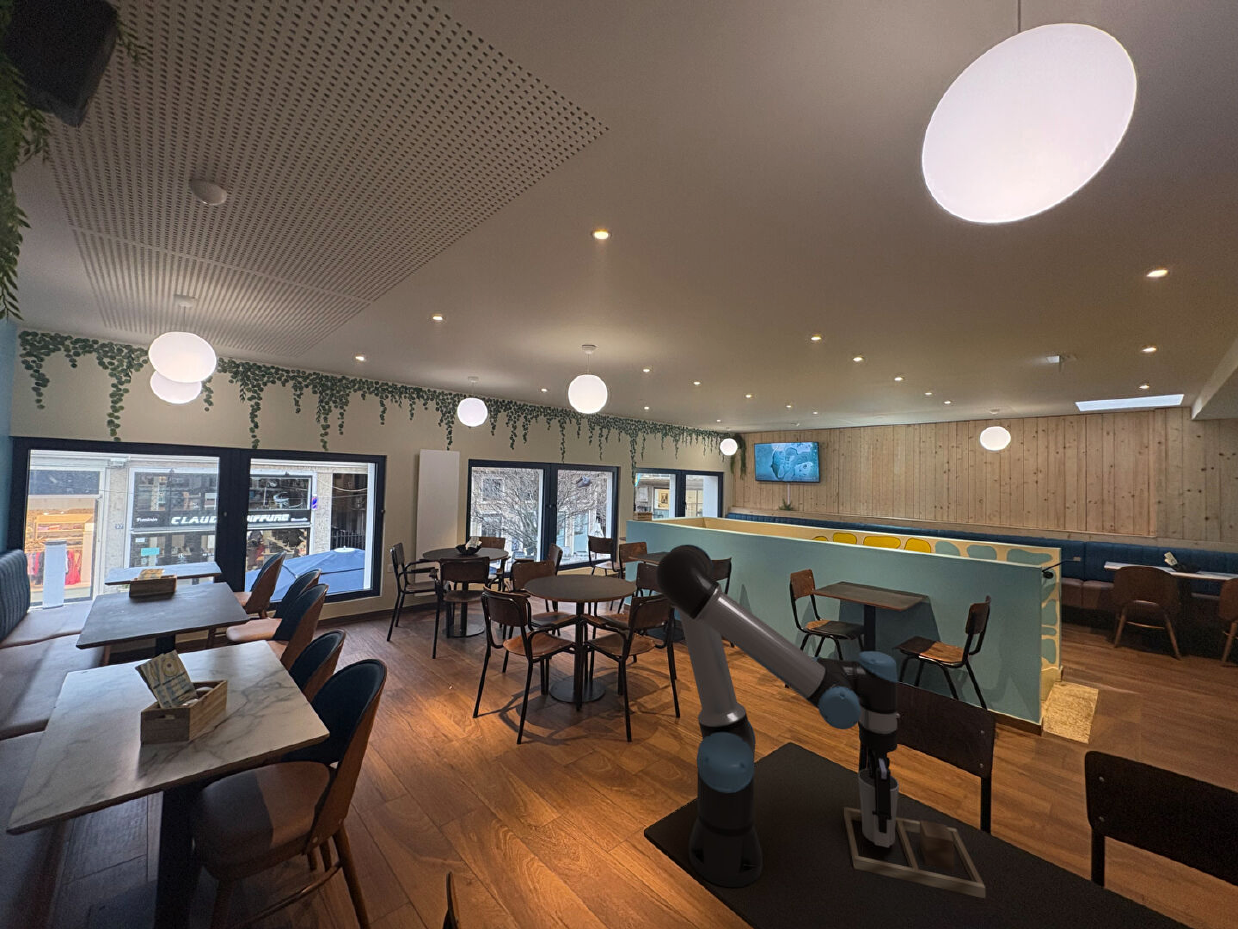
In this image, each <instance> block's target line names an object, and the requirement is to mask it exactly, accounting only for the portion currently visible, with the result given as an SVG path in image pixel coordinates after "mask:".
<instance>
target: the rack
mask: <svg viewBox="0 0 1238 929" xmlns="http://www.w3.org/2000/svg"><path fill="white" fill-rule="evenodd" d="M843 817H844V824H845V827H846V833H847V838H848V844H849V850H850V854H851V855H850V856H851V860H852V864H853V869H854V870H855V869H856V870H859V871H864V872H867V873H868V872H869V873H873V874H877V875H881V876H886V877H890V878H893V879H894V878H895V879H898V880H904V881H907V882H912V883H917V884H920V885H925V886H929V887H933V888H938V889H943V890H947V891H951V892H955V893H959V894H964V895H968V896H973V897H977V898H980V899H986V886H985V884H984V881H983V880H982V878H981V876H980V875H979V873H978V870H977V868H976V866H975V865H974V862H973V861H972V858H971V856H970V854H969V853H968V850H967V848H966V845H965V844H964V842H963V840H962V838H961V836H960V834H959V832H958V830H957V829H956V828H955V827H954V828H953V827H948V826H947V828H948V830H949V832H950V835H951V837H952V839H953V841H954V848H956V851H957V853H958V855H959V858H960V859H961V861H962V864H963V867H964V868H965V871H966V872H967V874H968V876H969V879H970V880H967V879H963V878H958V877H953V876H950V875H944V874H940V873H936V872H932V871H931V872H930V871H927V870H922V869H919V866H918V863H917V860H916V858H915V855H914V853H913V849H912V847H911V846H912V845H911V844H910V840H909V838H908V835H907V832H911V833H916V834H920V820H919V821H918V820H913V819H909V818H908V819H907V818H902V817H898V816H896V822H895V830H897V831H896V832H897V833H898V837H899V840H900V843H901V845H902V849H903V852H904V854H905V855H904V856H905V858H906V861H907V863H908V866H904V865H900V864H895V863H891V862H887V861H883V860H878V859H873V858H869V857H864V856H859V852H858V848H857V842H856V837H855V833H854V827H853V822H852V820H853V821H856V822H857V821H858V822H862V813H861V809H858V808H853V807H848V806H847V807H846V806H843ZM906 831H907V832H906Z"/></svg>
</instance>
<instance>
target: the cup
mask: <svg viewBox="0 0 1238 929" xmlns="http://www.w3.org/2000/svg"><path fill="white" fill-rule="evenodd" d="M857 776H858V787H859V797H860V799H859V801H860V810H861V813H862V821H861V823H862V824H861V825H862V826H861V828H862V834H863V836H864V837H865V838H866V839H867V840H869V841H871V842H873V843H874V815H872V811H875V810H876V809H875V787H874V779H871V778H870V777H869V769H867V768H863V769H861V770H859V771H858V773H857ZM899 789H900V783H899V781H898V779H897V778H896V777H894V776H893V775H891V776H890V790H891V816H892V818H891V819H892V820H889V846H892V845H893V844H894V843H895V842H896V828H895V822H896V817H897V808H898V807H897V805H898V801H899V792H900V791H899Z"/></svg>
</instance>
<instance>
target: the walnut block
mask: <svg viewBox="0 0 1238 929" xmlns="http://www.w3.org/2000/svg"><path fill="white" fill-rule="evenodd" d="M919 822H920V833H919V849H920V852H921V856H922V857H923V860H924V862H925V865H926V866H931V867H935V868H941V869H944V870H947V871H948V870H949V871H953V872H954V871H955V845H954V841H953V839H952V837H951V835H950V832H949V830H948V828H947V827H948V826H947V825H946V824H943V823H936V822H933V821H926V820H921V819H920V820H919Z"/></svg>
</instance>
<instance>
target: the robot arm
mask: <svg viewBox="0 0 1238 929" xmlns="http://www.w3.org/2000/svg"><path fill="white" fill-rule="evenodd" d="M656 566H657V567H656V570H655V581H656V585H657V587H658V589H659V591H660V592H661V593H662V595H663V596H664V597H665V598H666V599H667V600H668V601H669V603H670V606H671V608H673V609H675V610H676V611H677V612H678V613H679V618H680V623H681V626H682V631H683V634H684V639H685V643H686V648H687V652H688V656H689V660H690V663H691V664H690V665H691V668H692V672H693V678H694V680H695V685H696V690H697V693H698V698H699V702H700V707H701V710H700V712H699V714H698V715H697V720H698V725H699V730H700V734H701V738H702V740H701V741H700V743H699V745H698V748H697V754H696V767H697V794H696V795H697V800H696V801H697V804H696V805H697V807H696V808H697V811H696V812H697V815H696V820H695V822H694V824H693V828H692V830H691V834H690V836H689V837H690V838H689V842H688V858H689V861H690V864H691V865H692V868H693V869H694V870H695V872H696V873H697V874H698V875H699V876H701V877H702V878H703V879H705V880H706V881H708V882H710V883H712V884H714V885H717V886H720V887H726V888H742V887H746V886H748V885H750V884H753V883H754V882H755V881H757V879H758V878H759V877H760V875H761V874H762V872H763V871H762V870H763V851H762V848H761V845H760V842H759V838H758V835H757V832H756V828H755V824H754V815H755V814H754V810H755V809H754V806H755V805H754V803H755V802H754V798H755V797H754V796H755V795H754V794H755V793H754V787H755V786H754V785H755V782H754V781H755V767H756V765H755V754H756V753H755V752H756V745H757V744H756V742H757V741H756V735H755V731H754V728H753V725H752V724H751V721H750V720H749V718H748V714H747V710H746V708H745V706H744V705H742V703H741V704H740V703H739V702H738V699H737V696H736V692H735V687H734V682H733V681H732V680H733V679H732V676H731V672H730V668H729V667H730V666H729V663H728V659H727V655H726V651H725V648H724V643H723V639H722V637H723V638H725V639H726V640H727V641H728V642H730V643H732V644H733V645H734V646H735V647H737V648H738V650H740V651H742V652H743V653H744V654H746V655H747V656H748V657H749V658H751V659H753V660H754V661H755V662H756V663H758V664H759V665H760V666H761V667H763V668H764V669H765V670H766V671H768V672H769V673H770V674H772V675H773V676H775V678H777V679H778V680H780V681H781V682H782V683H784V684H785V685H786V686H788V687H789V688H790V689H792V690H793V691H794V692H795V693H796V694H798V695H800V696H801V697H802V698H803V699H805V700H806V701H807V702H808V703H810V705H812V706H813V707H815V709H816V710H818V713H819V714H820V715H821V717H822V719H823V720H824V722H826V724H828V725H829V726H830V727H832V728H834V729H837V730H849V729H851V728H853V727H854V726H856V725H857V724H858V740H859V741H860V743H861V744H862V745H863V746H865V747H866V769H869V777H870V778H871V779H874V787H875V809H876V810H875V811H872V815H874V842H873V843H874V845H875V846H880V847H884V848H890V845H889V820H892V819H891V818H892V816H891V790H890V776H891V774H892V771H891V769H890V766H891V760H890V757H888V754H889V753H892V752H895V751H896V750H897V749H898V731H897V729H898V720H897V719H900V718H901V715H900V713H898V682H899V679H898V674H897V672H898V671H897V662H896V660H895V659H894V658H893V657H892V656H890V655H889V654H886V653H883V652H880V651H873V650H872V651H870V650H869V651H861V652H860V653H859V654H858V658H857V660H844V659H837V658H827V657H821V656H817V657H816V656H810V655H809V654H807V653H806V652H804V650H802V649H800V648H799V647H798V646H797V645H795V644H794V643H793V642H791V641H790V640H788V639H787V638H786V637H784V636H783V635H781V634H780V633H779V632H777V631H776V630H774V628H772V627H771V626H769V625H768V624H767V623H765V622H764V621H762V620H761V619H760V618H758V616H756V615H754V614H753V613H752V612H750V611H749V610H748V609H746V607H744V606H743V605H742V604H740V603H739V602H737V601H736V600H734V599H733V598H732V597H730V596H729V595H728V594H727V593H725V592H724V591H723V590H722V584H721V583H719V582H718V581H717V580H715V579H714V576H713V572H714V566H713V562H712V559H711V557H710V555H709V554H708V552H707V551H706V550H704V549H703V548H702V547H700V546H698V545H694V544H691V543H690V544H680V545H678V546H675V547H674V548H672V549H671V550H669V552H668V553H667V554H666V555H664V556H663V557H662V558H661V559H660V561H659V562H658V564H657V565H656Z"/></svg>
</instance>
